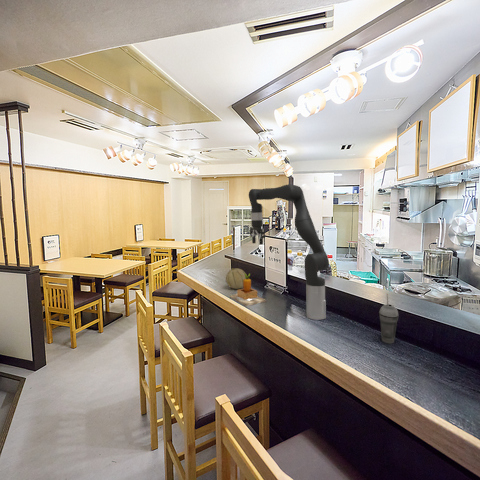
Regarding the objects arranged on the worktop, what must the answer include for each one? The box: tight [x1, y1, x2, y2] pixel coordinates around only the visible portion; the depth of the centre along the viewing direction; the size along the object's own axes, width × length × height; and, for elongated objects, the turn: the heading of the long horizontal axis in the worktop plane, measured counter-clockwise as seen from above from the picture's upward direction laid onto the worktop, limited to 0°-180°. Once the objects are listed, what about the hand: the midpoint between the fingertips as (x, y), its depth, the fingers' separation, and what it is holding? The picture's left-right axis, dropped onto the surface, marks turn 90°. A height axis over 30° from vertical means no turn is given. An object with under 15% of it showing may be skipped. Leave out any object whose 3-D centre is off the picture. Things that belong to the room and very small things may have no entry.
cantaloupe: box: [225, 267, 246, 290], centre depth 199 cm, size 15×15×15 cm
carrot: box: [242, 273, 252, 293], centre depth 174 cm, size 5×5×15 cm
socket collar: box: [236, 287, 258, 301], centre depth 175 cm, size 13×13×5 cm
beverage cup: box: [378, 293, 399, 344], centre depth 116 cm, size 7×7×20 cm
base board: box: [229, 293, 267, 307], centre depth 175 cm, size 14×20×1 cm
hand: (257, 243), depth 186 cm, fingers open, 8 cm apart
